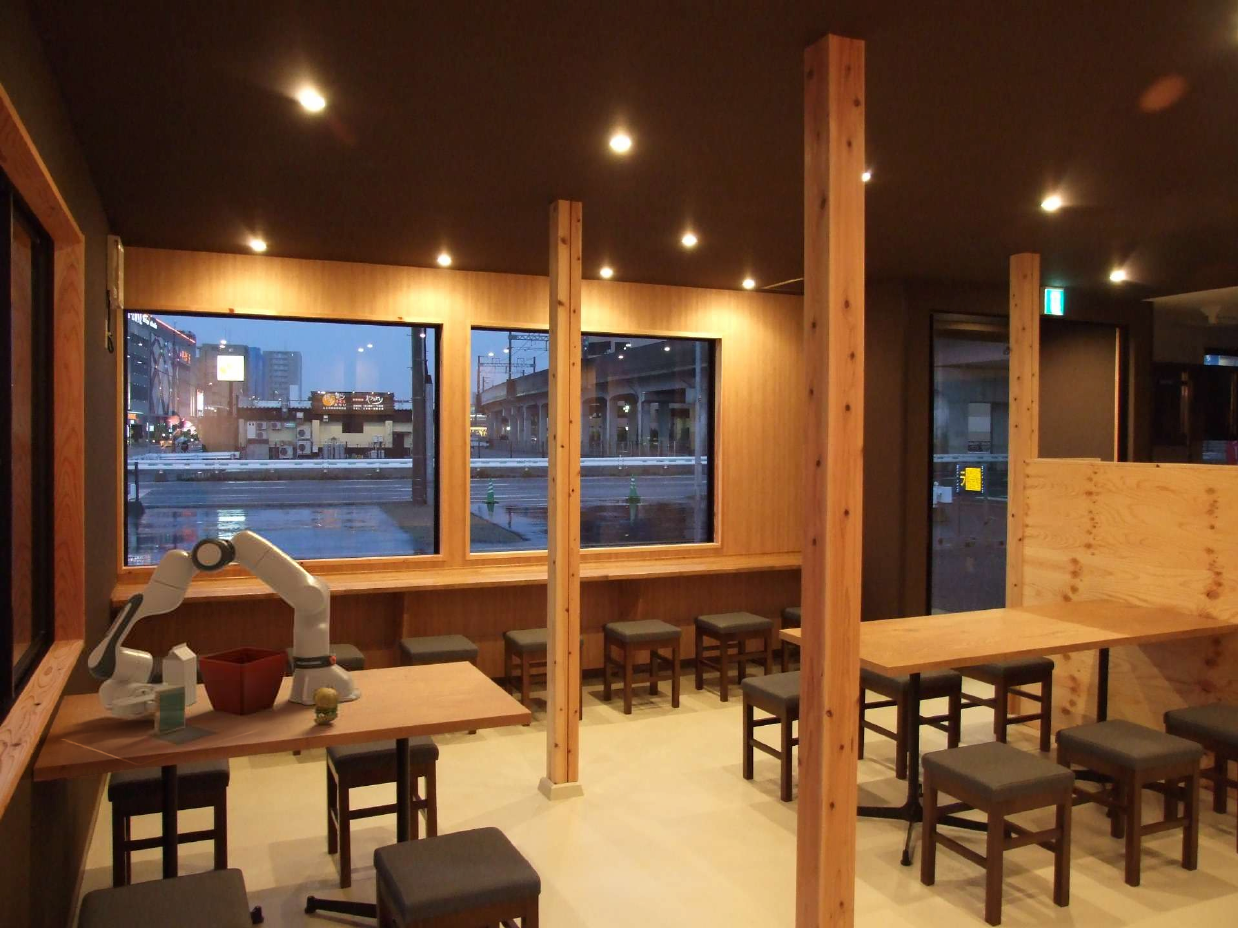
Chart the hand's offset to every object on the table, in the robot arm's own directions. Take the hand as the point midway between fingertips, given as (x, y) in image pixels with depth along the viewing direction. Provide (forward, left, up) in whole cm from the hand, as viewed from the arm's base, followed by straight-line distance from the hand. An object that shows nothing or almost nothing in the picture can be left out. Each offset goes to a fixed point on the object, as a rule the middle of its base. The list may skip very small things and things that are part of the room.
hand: (163, 705), depth 263 cm
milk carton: (+3, -28, -7) cm, 29 cm away
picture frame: (-2, +2, -7) cm, 7 cm away
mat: (-6, +7, -7) cm, 12 cm away
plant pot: (-18, -19, -7) cm, 27 cm away
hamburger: (-45, +4, -7) cm, 46 cm away
